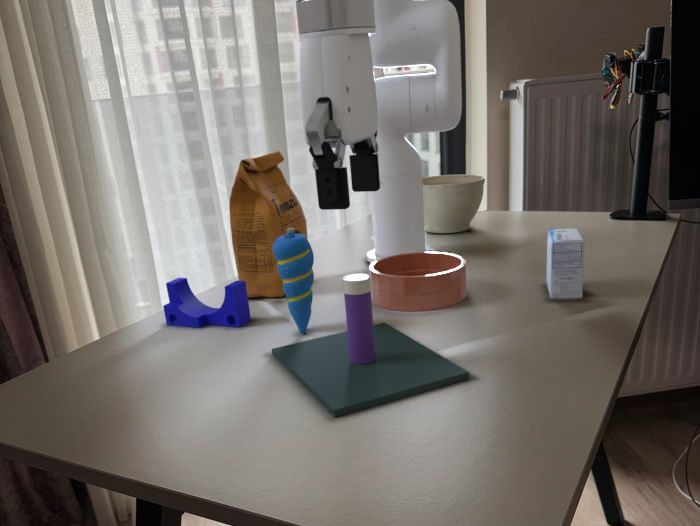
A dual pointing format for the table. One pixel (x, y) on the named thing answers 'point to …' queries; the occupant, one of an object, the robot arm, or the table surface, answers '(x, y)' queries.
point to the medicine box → (565, 263)
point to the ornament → (296, 274)
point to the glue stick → (359, 318)
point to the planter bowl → (451, 201)
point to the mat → (366, 370)
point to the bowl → (418, 281)
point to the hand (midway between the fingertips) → (351, 199)
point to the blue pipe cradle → (197, 314)
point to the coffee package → (262, 222)
